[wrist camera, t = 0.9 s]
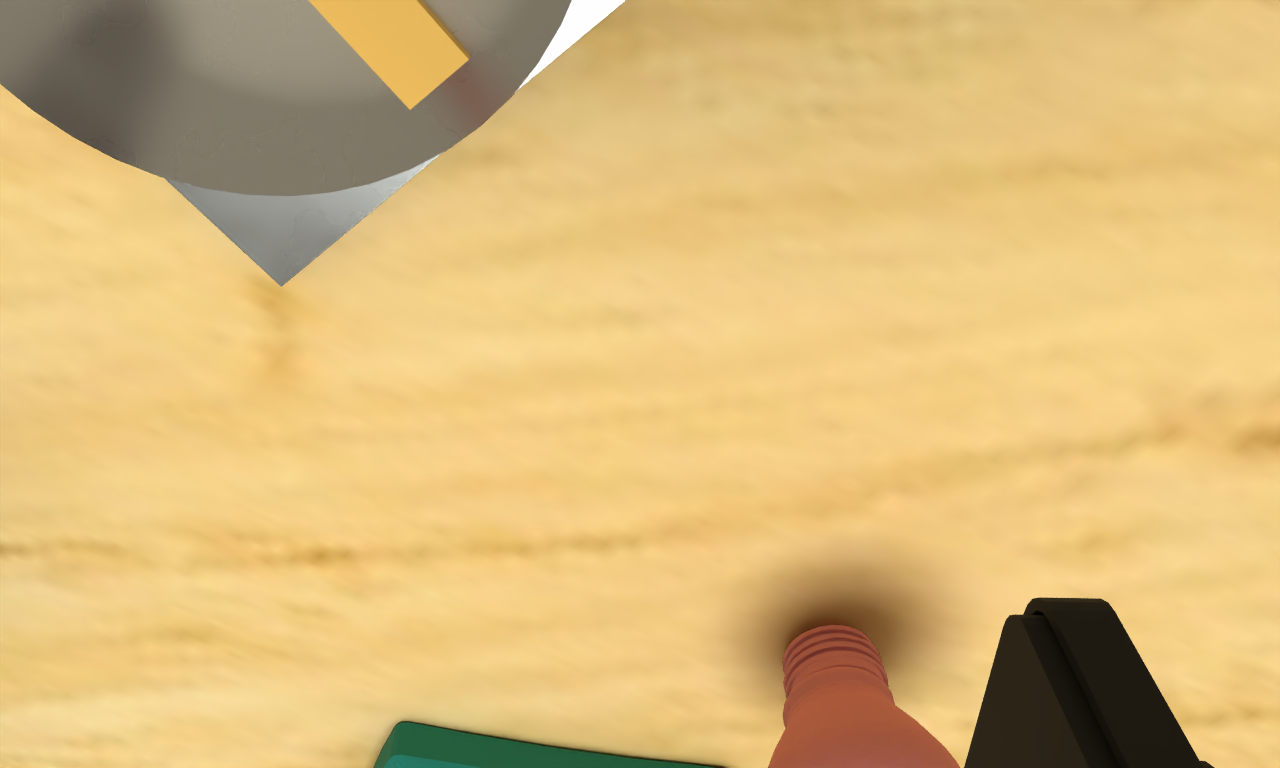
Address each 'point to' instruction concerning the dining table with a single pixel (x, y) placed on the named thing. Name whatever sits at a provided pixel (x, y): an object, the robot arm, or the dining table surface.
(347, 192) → the base
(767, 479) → the dining table surface
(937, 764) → the light bulb
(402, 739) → the digital multimeter
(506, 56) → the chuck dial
